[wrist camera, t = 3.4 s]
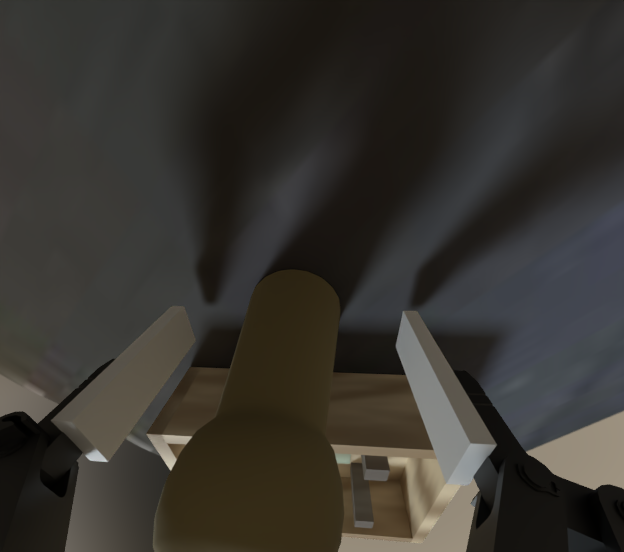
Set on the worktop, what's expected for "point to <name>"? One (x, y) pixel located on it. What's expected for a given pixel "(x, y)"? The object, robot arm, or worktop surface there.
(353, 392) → the socket box
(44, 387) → the worktop surface
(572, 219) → the worktop surface
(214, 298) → the worktop surface
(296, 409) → the cork
